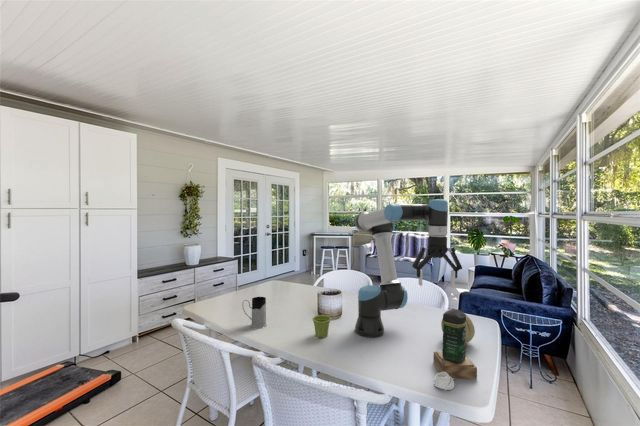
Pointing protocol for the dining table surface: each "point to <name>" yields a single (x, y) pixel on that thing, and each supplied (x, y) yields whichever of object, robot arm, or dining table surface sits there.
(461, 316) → the coffee jar
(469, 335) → the cantaloupe
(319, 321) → the plant pot
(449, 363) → the walnut pedestal block
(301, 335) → the dining table surface
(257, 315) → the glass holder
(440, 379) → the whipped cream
